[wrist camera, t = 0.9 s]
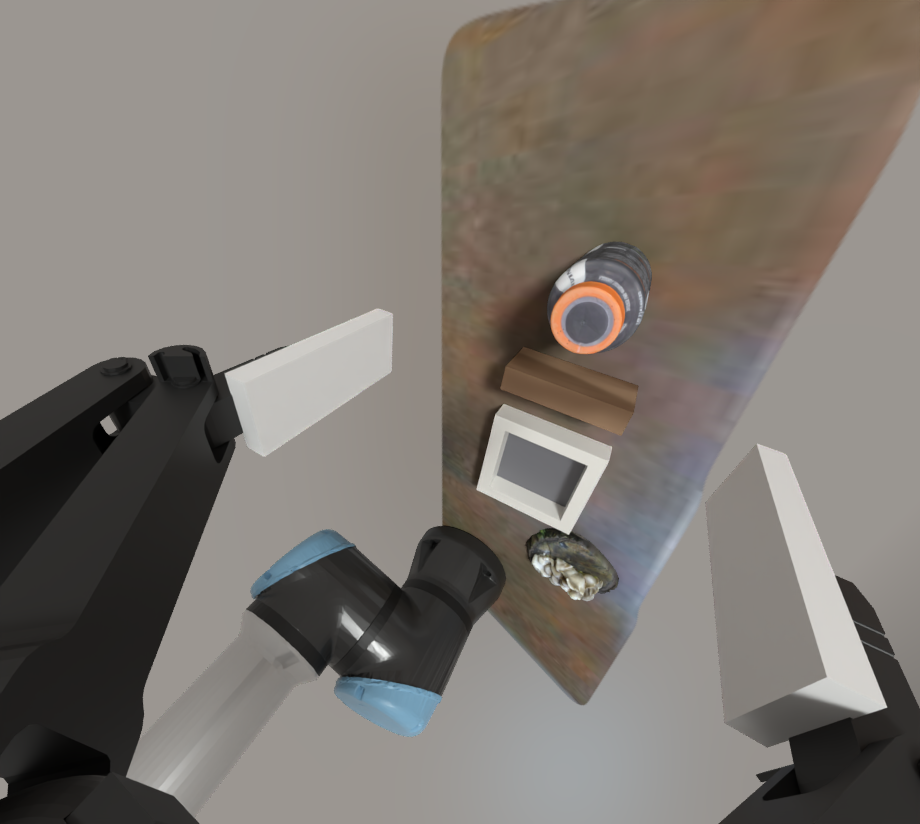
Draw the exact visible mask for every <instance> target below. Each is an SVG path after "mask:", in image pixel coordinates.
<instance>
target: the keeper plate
mask: <svg viewBox="0 0 920 824" xmlns="http://www.w3.org/2000/svg"><path fill="white" fill-rule="evenodd" d="M611 451H612V447H611V446H608V445H606V444H603V443H601V442H598V441H596V440H593V439H591V438H588V437H586V436H583V435H581V434H578V433H576V432H573V431H571V430H568V429H566V428H563V427H561V426H558V425H556V424H553V423H551V422H548V421H546V420H543V419H541V418H538V417H536V416H533V415H531V414H528V413H526V412H523V411H521V410H518V409H516V408H513V407H511V406H508V405H506V404H503V405H502V407H501V408H500V409H499V411H498V412H497V413H496V414H495V418H494V422H493V426H492V430H491V434H490V438H489V442H488V446H487V450H486V454H485V458H484V462H483V466H482V470H481V474H480V478H479V482H478V486H477V490H478V491H480V492H482V493H484V494H486V495H488V496H490V497H493V498H495V499H497V500H499V501H501V502H503V503H505V504H507V505H509V506H511V507H513V508H515V509H517V510H519V511H521V512H523V513H525V514H527V515H529V516H531V517H533V518H535V519H538V520H540V521H542V522H544V523H546V524H548V525H550V526H552V527H554V528H556V529H558V530H560V531H562V532H564V533H566V534H568V535H569V534H570V532H571V530H572V528H573V526H574V525H575V523H576V521H577V519H578V517H579V515H580V514H581V512H582V510H583V508H584V506H585V504H586V503H587V501H588V499H589V497H590V495H591V494H592V492H593V490H594V488H595V486H596V484H597V483H598V481H599V479H600V477H601V475H602V473H603V472H604V470H605V468H606V466H607V464H608V462H609V459H610V455H611Z"/></svg>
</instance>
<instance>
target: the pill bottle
mask: <svg viewBox="0 0 920 824" xmlns="http://www.w3.org/2000/svg"><path fill="white" fill-rule="evenodd" d="M651 280H652V272H651V268H650V264H649V261H648V259H647V258H646V256H645V255H644V254H643V252H641V251H640V250H639V249H638V248H637V247H635V246H632V245H630V244H627V243H624V242H609V243H604V244H602V245H599V246H597V247H595V248H594V249H592V250H590V251H589V252H588V253H587V254H585V255H584V256H583V257H582V258H581V259H579V260H578V261H577V262H576V263H575V264H573V265H572V266H571V267H570V268H569V269H568V270H567V271H565V272H564V273H563V274H562V275H561V276H560V277H559V279H558V280H557V281H556V282H555V284H554V286H553V287H552V290H551V292H550V295H549V298H548V304H547V315H548V320H549V324H550V326H551V330H552V333H553V335H554V337H555V339H556V340H557V341H558V343H559V344H560V345H562V346H563V347H564V348H565V349H567V350H569V351H571V352H574V353H578V354H592V353H600V352H605V351H609V350H612V349H614V348H616V347H618V346H620V345H621V344H623V343H624V342H625V341H626V340H628V339H629V338H630V337H631V336H632V335H633V333H634V332H635V331H636V329H637V328H638V326H639V324H640V322H641V320H642V317H643V314H644V311H645V308H646V305H647V300H648V295H649V290H650V286H651Z"/></svg>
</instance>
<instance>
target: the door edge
mask: <svg viewBox="0 0 920 824" xmlns="http://www.w3.org/2000/svg"><path fill="white" fill-rule="evenodd" d="M500 389H502V390H504V391H507V392H509V393H512V394H515V395H517V396H520V397H522V398H525V399H527V400H530V401H533V402H535V403H538V404H540V405H543V406H546V407H548V408H551V409H553V410H556V411H558V412H561V413H564V414H566V415H569V416H571V417H574V418H577V419H579V420H582V421H584V422H587V423H590V424H592V425H595V426H597V427H600V428H602V429H605V430H608V431H610V432H613V433H615V434H618V435H622V433H623V431H624V430H625V428H626V426H627V424H628V422H629V420H630V418H631V417H632V415H633V413H634V408H635V402H636V396H637V391H638V386H637V385H634V384H631V383H629V382H626V381H623V380H620V379H617V378H614V377H611V376H608V375H605V374H602V373H599V372H596V371H593V370H590V369H588V368H585V367H582V366H579V365H576V364H573V363H570V362H567V361H564V360H561V359H558V358H555V357H552V356H549V355H546V354H544V353H541V352H538V351H535V350H532V349H529V348H526V347H523V348H522V349H521V350H520V351H519V352H518V354H517V355H516V356H515V357H514V358H513V359H512V360H511V361H510V362H509V363H508V364H507V365H506V367H505V371H504V375H503V379H502V383H501V387H500Z"/></svg>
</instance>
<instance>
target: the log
mask: <svg viewBox="0 0 920 824" xmlns="http://www.w3.org/2000/svg"><path fill="white" fill-rule="evenodd" d="M527 545H528V553H529V560H530V562H531V563H532V564H533V566H534V568H535V569H536V570H537V571H538V572H539V573H540V574H541V576H543V577H549V580H550V582H551V583H552V584H553V585H559V586H561V587H562V589H564V590H565V592H568V595H569V596H570V598H572V599H574V600H576V599H578V600H580V598H582V599H583V600H585V601H589V600H592V599H593V598H594V594H596V593H597V592H598V593H601V594H603V593H606V592H610V590H614V589H615V588H616V587H617V585H618V580H619V578H618V575H617V573H616V571H615V569H614V568H613V566H612V565H611V564H610V562H609V561H608V560H607V559H606V558H605V556H604V555H603V554H602V553H601V552H600V551H599V550H598V549H597V548H596V547H595V546H594V545H593V544H592V543H591V542H590V541H588V540H587V539H585V538H584V537H582V536H581V535H578V534H576V533H574V532H572V531H571V532H570V534H569V535H568V534H566V533H564V532H562V531H560V530H558V529H556V528H549V529H544V530H540V532H539V533H537V534H534V535H532V538H531V539H529V540H528V541H527Z"/></svg>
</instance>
